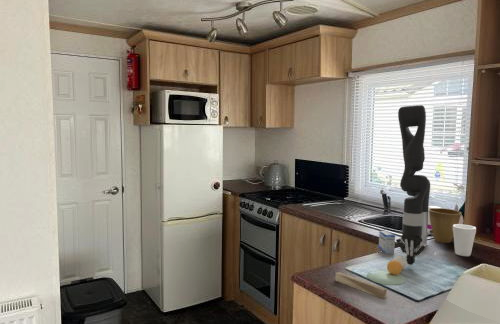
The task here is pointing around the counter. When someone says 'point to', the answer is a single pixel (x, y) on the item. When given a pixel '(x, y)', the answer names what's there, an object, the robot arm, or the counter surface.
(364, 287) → the light wooden bar
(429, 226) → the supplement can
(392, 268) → the orange ball
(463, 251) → the foam cup
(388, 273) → the mint mark
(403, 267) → the white ball
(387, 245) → the medicine box
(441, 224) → the plant pot
